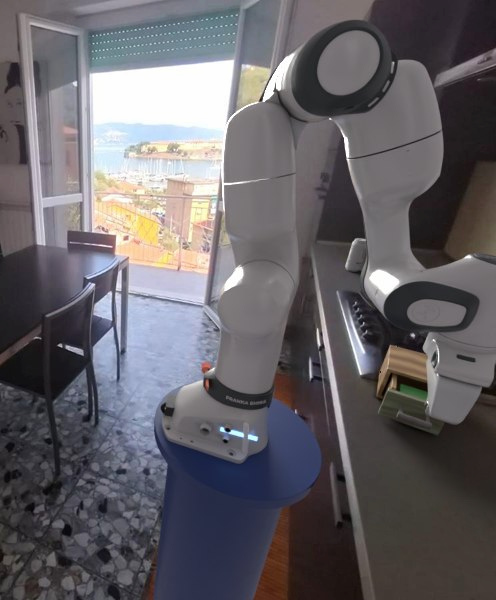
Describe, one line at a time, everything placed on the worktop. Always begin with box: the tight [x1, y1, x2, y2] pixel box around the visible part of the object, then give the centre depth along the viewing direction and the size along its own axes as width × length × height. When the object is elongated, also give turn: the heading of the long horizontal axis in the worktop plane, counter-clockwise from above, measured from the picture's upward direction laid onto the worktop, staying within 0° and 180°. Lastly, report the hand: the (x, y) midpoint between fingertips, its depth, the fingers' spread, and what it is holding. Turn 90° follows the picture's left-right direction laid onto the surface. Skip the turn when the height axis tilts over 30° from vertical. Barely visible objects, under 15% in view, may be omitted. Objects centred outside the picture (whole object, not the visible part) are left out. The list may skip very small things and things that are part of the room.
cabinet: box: [375, 344, 428, 400], centre depth 88 cm, size 14×12×9 cm
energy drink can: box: [345, 237, 367, 273], centre depth 168 cm, size 6×6×15 cm
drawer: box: [377, 373, 446, 436], centre depth 80 cm, size 17×10×7 cm, turn 141°
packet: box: [397, 384, 428, 400], centre depth 81 cm, size 4×6×4 cm
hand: (430, 411), depth 66 cm, fingers closed
